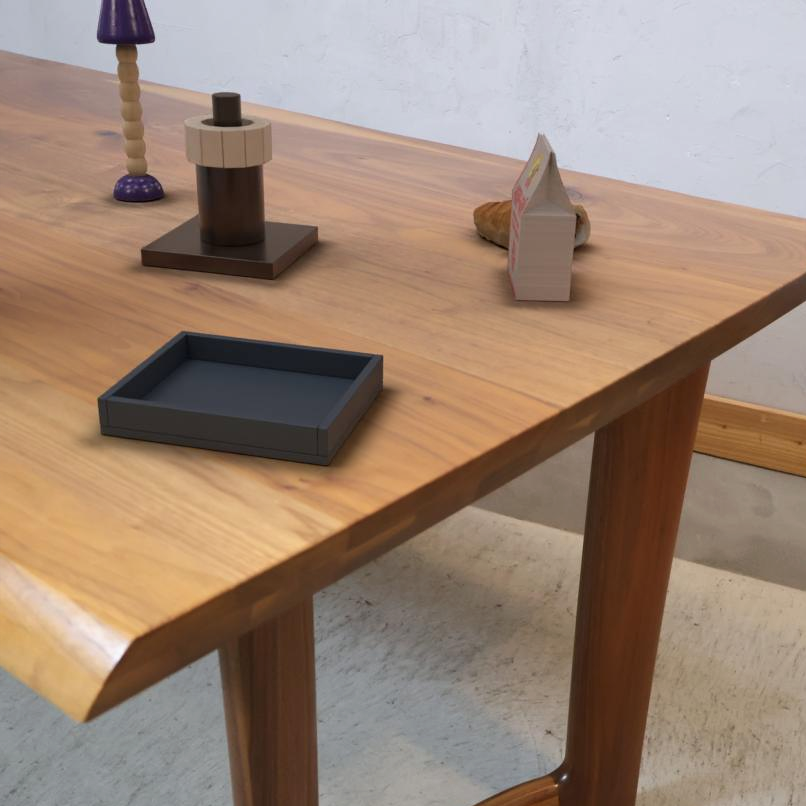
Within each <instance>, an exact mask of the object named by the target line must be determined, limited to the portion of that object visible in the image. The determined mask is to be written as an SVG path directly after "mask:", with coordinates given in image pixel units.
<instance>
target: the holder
mask: <svg viewBox="0 0 806 806" xmlns="http://www.w3.org/2000/svg"><path fill="white" fill-rule="evenodd" d="M211 104H212V105H211V106H212V114H213V126H215V127H242V116H241V115H242V96H241V94H240V93H238V92H233V91H230V92H229V91H219V92H214V93H212V94H211ZM195 177H196V178H195V179H196V193H197V195H196V196H197V209H198V211H197V213H198V214H196V215H194V216H193V217H191V218H189V219H187V220H186V221H184V222H183V223H181V224H179V225H177V226H176V227H174V228H173V229H171V230H170V231H168V232H167V233H165V234H163V235H161V236H160V237H158V238H156V239H154V240H153V241H151V242H150V243H148V244H147V245H145V246H143V247H141V248H140V259H141V265H142V266H150V267H160V268H167V269H168V268H169V269H178V270H186V271H196V272H206V273H212V274H213V273H215V274H223V275H230V276H231V275H232V276H241V277H250V278H259V279H268V280H274V279H275V278H276V277H277V276H278V275H280V274H281V273H283V271H285V270H286V269H287V268H289V266H291V265H292V264H293V263H294V262H296V261H297V260H298V259H299V258H300V257H301V256H302V255H304V254H305V253H306V252H307V251H308V250H310V248H312V247H313V246H314V245H316V244H317V243H319V226H318V225H309V224H297V223H287V222H280V221H279V222H278V221H268V220H266V211H265V210H266V209H265V207H266V206H265V184H264V183H265V182H264V181H265V180H264V179H265V178H264V164H262V165H257V166H251V167H245V168H224V167H223V168H217V167H206V166H200V165H197V164H195Z"/></svg>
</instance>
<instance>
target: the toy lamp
mask: <svg viewBox="0 0 806 806" xmlns="http://www.w3.org/2000/svg"><path fill="white" fill-rule="evenodd" d="M96 29H97V30H96V40H97V42H98V43H100V44H104V45H115V57H116V60H117V62H118V64H117V68H116V70H117V71H116V73H117V77H118V80H119V84H118V94H119V97H120V99H121V103H120V114H121V117H122V119H123V122H122V134H123V136H124V138H125V141H124V152H125V154H126V157H127V158H126V163H125V164H126V170H127V172H128V173H127V174H125V175H123V176H121V177H120V178H119V179H117V181H116V182H115V185H114V189H113V198H114V199H116V200H118V201H124V202H125V201H126V202H146V201H153V200H157V199H159V198H162V197H163V196H164V195H165V192H164V188H163V186H162V184H161V181H159V180H158V178H156V177H155V176H153V175H151V174H149V173H148V161H147V158H146V157H145V155H146V151H147V146H146V142H145V140H144V135H145V125H144V123H143V120H142V117H143V107H142V104H141V101H140V98H141V86H140V84H139V82H138V81H139V78H140V68H139V66H138V64H137V61H138V55H139V53H138V48H137V46H140V45H148V44H149V45H150V44H153V43H155V42H156V35H155V31H154V27H153V24H152V21H151V18H150V14H149V12H148V8H147V6H146V3H145V0H101V3H100V9H99V16H98V22H97V28H96Z"/></svg>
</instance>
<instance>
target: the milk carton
mask: <svg viewBox="0 0 806 806" xmlns="http://www.w3.org/2000/svg"><path fill="white" fill-rule="evenodd" d="M556 155H557V154H556V152H555V150H554V149H553V147H552V145H551V143H550V142H549V139H548V138H547V136H546V134H545V133H544V132H543V134H542V133H540V132H538V133H537V137H536V141H535V144H534V146H533V149H532V151H531V154H530V156H529V158H528V160H527V162H526V163H525V165H524V166H523V169H522V171H521V173H520V175H519V176H518V178H517V181H516V182H515V184H514V186H513V188H512V190H511V200H512V202H511V218H510V234H509V249H508V250H507V251H508V252H507V269H506V270H507V274H508V278H509V281H510V285H511V289H512V292H513V295H514V299H515V301H539V302H540V301H542V302H544V301H545V302H570V295H571V293H570V292H571V282H572V272H573V259H574V249H575V248H574V238H575V227H576V214H575V212H574V209H573V207H572V204H573V203H572V202H571V200H570V197H569V194H568V192H567V190H566V187H565V185H564V182H563V180H562V176H561V173H560V171H559V167H558V162H557V161H558V160H557V156H556Z"/></svg>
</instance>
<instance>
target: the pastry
mask: <svg viewBox="0 0 806 806" xmlns="http://www.w3.org/2000/svg"><path fill="white" fill-rule="evenodd" d="M511 202H512V199H508V200H507V199H506V200H502V201H498V200H497V201H488V202H485V203H483V204H482V205H479V206H477V207H476V208H475V209H474V210H473V213H472V217H473V224H474V226H475V229H476V231H477V233H479V235H480V236H481V238H485V240H487V241H488V242H490V241H492V242H493V243H494V244H495V245H499V246H502V247H504V248H505V249H508V250H509V234H510V218H511ZM571 204H572V207H573V209H574V212H575V214H576V227H575V238H574V249H576V248H578V247H580V246H582V245H584V244H585V243H587V242H588V241H589V238H590V236H591V221H590V219H589V215H588V212H587V210H586V209H585V208H584V206H583V205H582V204H577V205H575V204H574V203H571Z"/></svg>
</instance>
